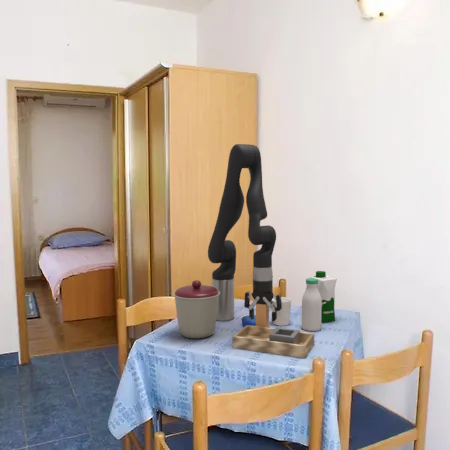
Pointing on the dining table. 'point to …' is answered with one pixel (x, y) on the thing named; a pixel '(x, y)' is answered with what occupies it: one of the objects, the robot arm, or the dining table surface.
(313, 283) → the milk bottle
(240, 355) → the dining table surface
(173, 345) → the dining table surface
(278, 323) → the white cup
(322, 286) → the milk carton
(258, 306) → the plug
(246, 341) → the oak box
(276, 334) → the socket
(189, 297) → the canister
